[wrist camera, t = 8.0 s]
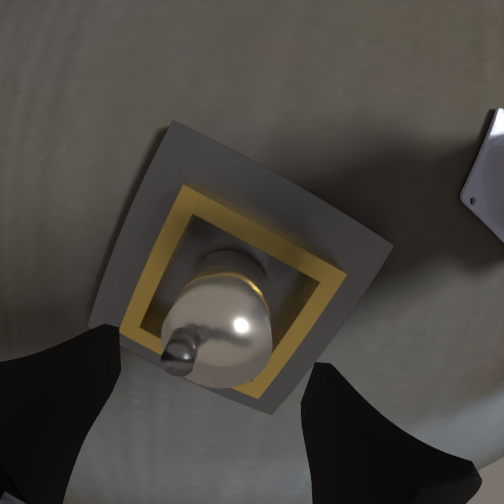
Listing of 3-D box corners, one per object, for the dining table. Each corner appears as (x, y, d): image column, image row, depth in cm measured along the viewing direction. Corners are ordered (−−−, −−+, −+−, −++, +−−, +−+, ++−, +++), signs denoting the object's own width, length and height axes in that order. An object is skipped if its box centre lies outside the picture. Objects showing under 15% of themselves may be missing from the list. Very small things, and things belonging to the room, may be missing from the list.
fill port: (386, 240, 18) (409, 255, 15) (271, 404, 22) (272, 434, 18) (178, 122, 17) (162, 114, 14) (94, 318, 20) (73, 340, 17)
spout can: (273, 257, 17) (286, 324, 10) (260, 328, 19) (262, 419, 11) (193, 244, 17) (150, 302, 10) (186, 316, 18) (150, 401, 11)
